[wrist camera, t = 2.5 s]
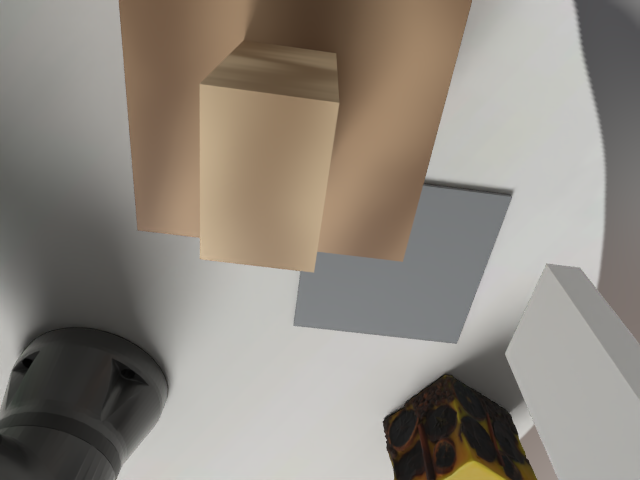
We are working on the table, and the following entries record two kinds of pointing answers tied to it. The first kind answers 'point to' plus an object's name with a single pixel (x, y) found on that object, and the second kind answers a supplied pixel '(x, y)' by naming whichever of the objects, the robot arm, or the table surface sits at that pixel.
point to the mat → (410, 273)
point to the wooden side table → (286, 121)
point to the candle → (454, 437)
